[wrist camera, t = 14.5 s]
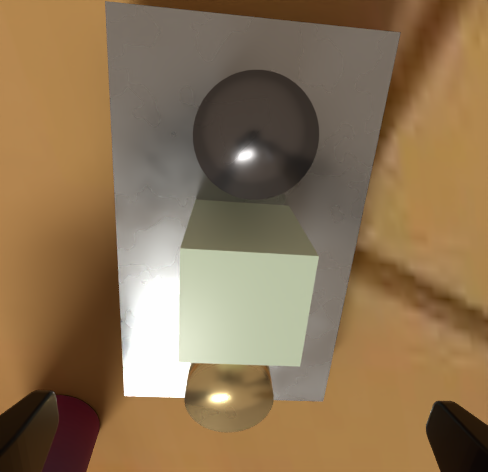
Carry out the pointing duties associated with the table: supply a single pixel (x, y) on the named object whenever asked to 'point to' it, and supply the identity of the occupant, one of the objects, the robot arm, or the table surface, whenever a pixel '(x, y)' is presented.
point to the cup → (72, 436)
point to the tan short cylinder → (228, 395)
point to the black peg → (255, 134)
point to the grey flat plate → (200, 187)
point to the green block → (244, 285)
